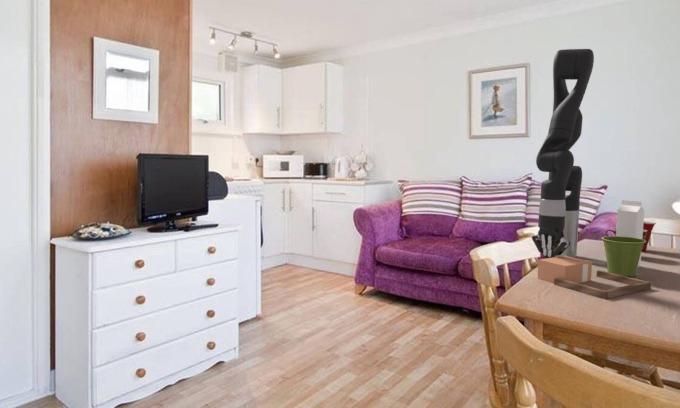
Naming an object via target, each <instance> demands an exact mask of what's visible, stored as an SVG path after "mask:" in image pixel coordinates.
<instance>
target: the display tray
mask: <svg viewBox="0 0 680 408" xmlns="http://www.w3.org/2000/svg"><path fill="white" fill-rule="evenodd" d="M596 277H598V278H601V279H606V280H611V281H613V282H616V283H617V282H618V283H621V284H625V285H624V286H619V287H613V288H608V289H605V290H603V289H600V288H596V287H594V286H589V285H586V284H582V283H575V282H571V281H568V280H564V279H560V278H554V283H553V285H556V286H559V287H563V288H566V289H569V290H573V291H575V292H580V293H583V294H586V295H589V296H593V297H596V298H600V299H603V300H606V299H611V298H616V297H620V296H624V295H630V294H633V293H638V292H643V291H647V290H652V282H650V281H646V280H642V279H638V278H634V277H630V276H627V277H626V276H622V275H617V274H613V273H609V272H608V271H604V270H600V269H598V270H596Z"/></svg>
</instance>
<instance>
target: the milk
mask: <svg viewBox="0 0 680 408" xmlns="http://www.w3.org/2000/svg"><path fill="white" fill-rule="evenodd" d="M642 203H643V202H642V201H637V200H636V201H635V200H626V199H625V200H621V205H620V206H619V208H618V209H617V213H616V226H615V228H616V230H615V231H616V236H619V237H632V238H638V239H642V237H643V224H644V221H645V209H644V208H643V207H642V205H643V204H642ZM641 261H642V253H641V254H640V258H639V262H638V266H637V268H639V267H641V263H642V262H641Z"/></svg>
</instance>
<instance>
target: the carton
mask: <svg viewBox="0 0 680 408" xmlns="http://www.w3.org/2000/svg"><path fill="white" fill-rule="evenodd" d="M537 262H538V263H537V279H539V280H542V281H546V282H549V283H552V284H554V278H560V279H564V280H568V281H571V282H575V283H579V284H582V283H585V282H586V283H587V282H591V281H592V270H593V267H592V265H593V261H590V260H587V259H581V258H577V257H575V258H573V257H568V256H560V257H553V258H546V259H544V258H541V259H540V258H539V259H538V261H537Z"/></svg>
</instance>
